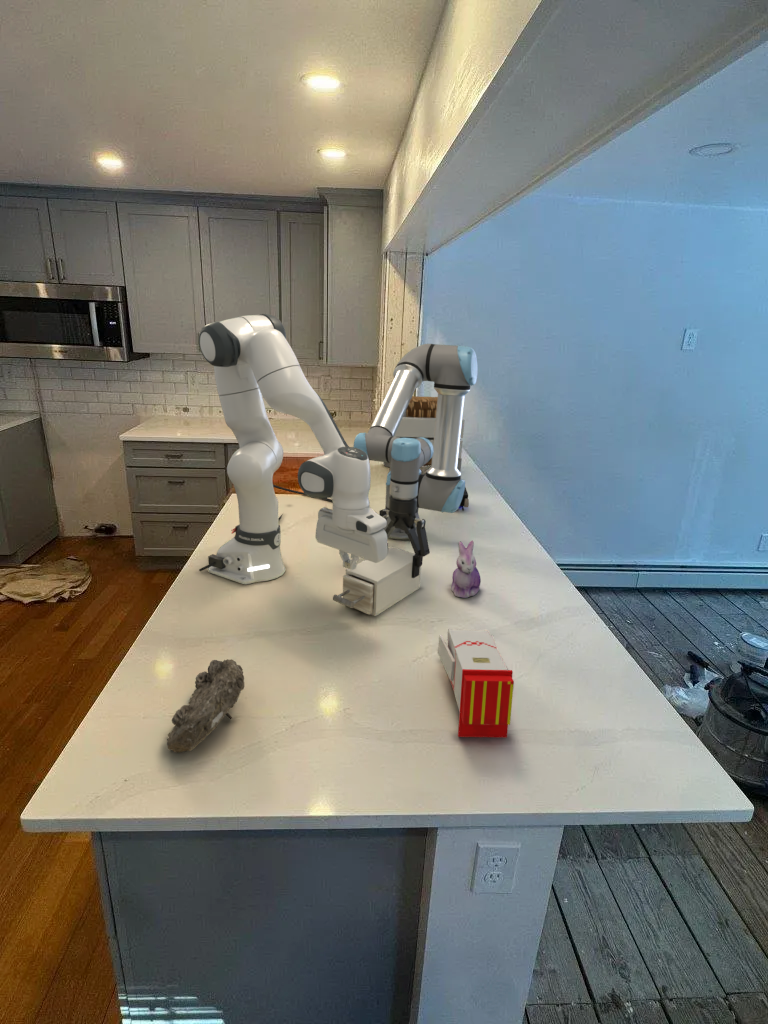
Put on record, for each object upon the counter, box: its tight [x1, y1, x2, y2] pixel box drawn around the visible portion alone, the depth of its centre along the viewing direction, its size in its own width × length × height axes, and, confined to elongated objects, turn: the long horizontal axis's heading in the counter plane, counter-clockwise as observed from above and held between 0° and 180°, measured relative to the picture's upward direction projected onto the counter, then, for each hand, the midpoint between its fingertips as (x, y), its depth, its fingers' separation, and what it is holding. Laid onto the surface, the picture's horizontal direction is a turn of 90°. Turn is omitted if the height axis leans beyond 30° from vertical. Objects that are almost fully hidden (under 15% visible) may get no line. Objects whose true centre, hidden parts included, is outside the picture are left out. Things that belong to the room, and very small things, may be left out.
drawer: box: [332, 574, 374, 616], centre depth 151 cm, size 25×9×8 cm, turn 143°
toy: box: [437, 628, 515, 738], centre depth 117 cm, size 12×13×30 cm
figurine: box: [450, 540, 482, 599], centre depth 158 cm, size 9×10×15 cm
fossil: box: [166, 658, 245, 754], centre depth 106 cm, size 22×10×15 cm
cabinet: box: [345, 545, 422, 617], centre depth 155 cm, size 21×10×10 cm, turn 143°
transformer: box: [382, 395, 465, 474], centre depth 268 cm, size 34×33×41 cm
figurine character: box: [455, 486, 470, 512], centre depth 229 cm, size 7×8×15 cm
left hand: (349, 567), depth 140 cm, fingers closed
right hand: (399, 570), depth 160 cm, fingers closed on cabinet, 10 cm apart
